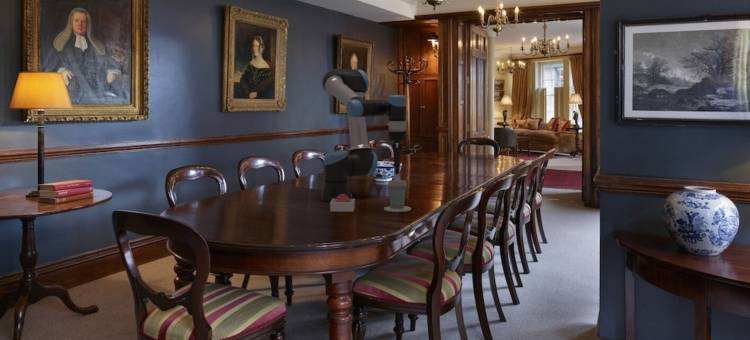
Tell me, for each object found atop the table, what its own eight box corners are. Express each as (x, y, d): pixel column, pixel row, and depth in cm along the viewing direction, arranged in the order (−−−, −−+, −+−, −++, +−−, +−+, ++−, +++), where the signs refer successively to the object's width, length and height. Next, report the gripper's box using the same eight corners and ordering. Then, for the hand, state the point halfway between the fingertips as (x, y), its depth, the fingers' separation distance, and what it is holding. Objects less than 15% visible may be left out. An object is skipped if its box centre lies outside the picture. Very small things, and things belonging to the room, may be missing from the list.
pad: (378, 209, 252) (378, 207, 252) (398, 205, 259) (398, 204, 259) (396, 212, 243) (396, 211, 243) (416, 209, 250) (416, 208, 250)
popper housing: (330, 211, 247) (330, 202, 246) (332, 207, 257) (332, 198, 256) (353, 211, 246) (353, 202, 246) (355, 207, 256) (354, 198, 256)
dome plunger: (333, 207, 248) (333, 196, 247) (335, 204, 255) (335, 193, 254) (350, 207, 247) (350, 196, 247) (352, 204, 255) (352, 193, 254)
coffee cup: (409, 206, 254) (409, 180, 253) (403, 210, 246) (403, 182, 245) (390, 205, 257) (390, 179, 255) (384, 208, 249) (384, 181, 247)
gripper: (389, 129, 260) (389, 175, 262) (388, 132, 235) (387, 183, 238) (405, 129, 259) (405, 175, 262) (406, 132, 235) (405, 183, 237)
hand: (397, 179), depth 250 cm, fingers open, 13 cm apart
